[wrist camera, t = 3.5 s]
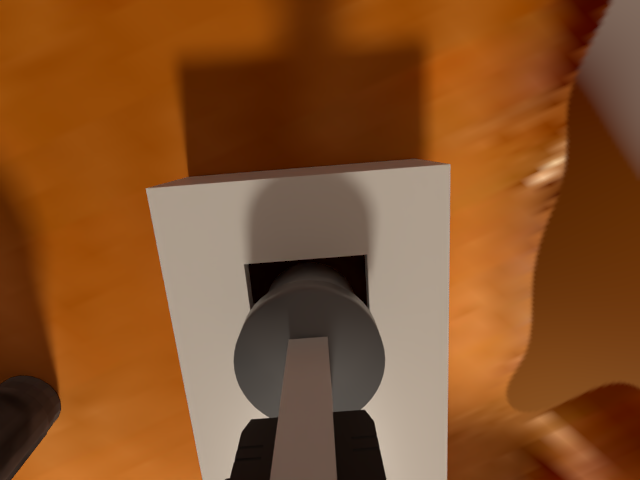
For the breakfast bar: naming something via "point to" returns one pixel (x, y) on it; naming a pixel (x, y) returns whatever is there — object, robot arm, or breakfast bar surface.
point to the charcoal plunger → (308, 322)
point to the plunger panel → (311, 243)
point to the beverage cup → (24, 420)
